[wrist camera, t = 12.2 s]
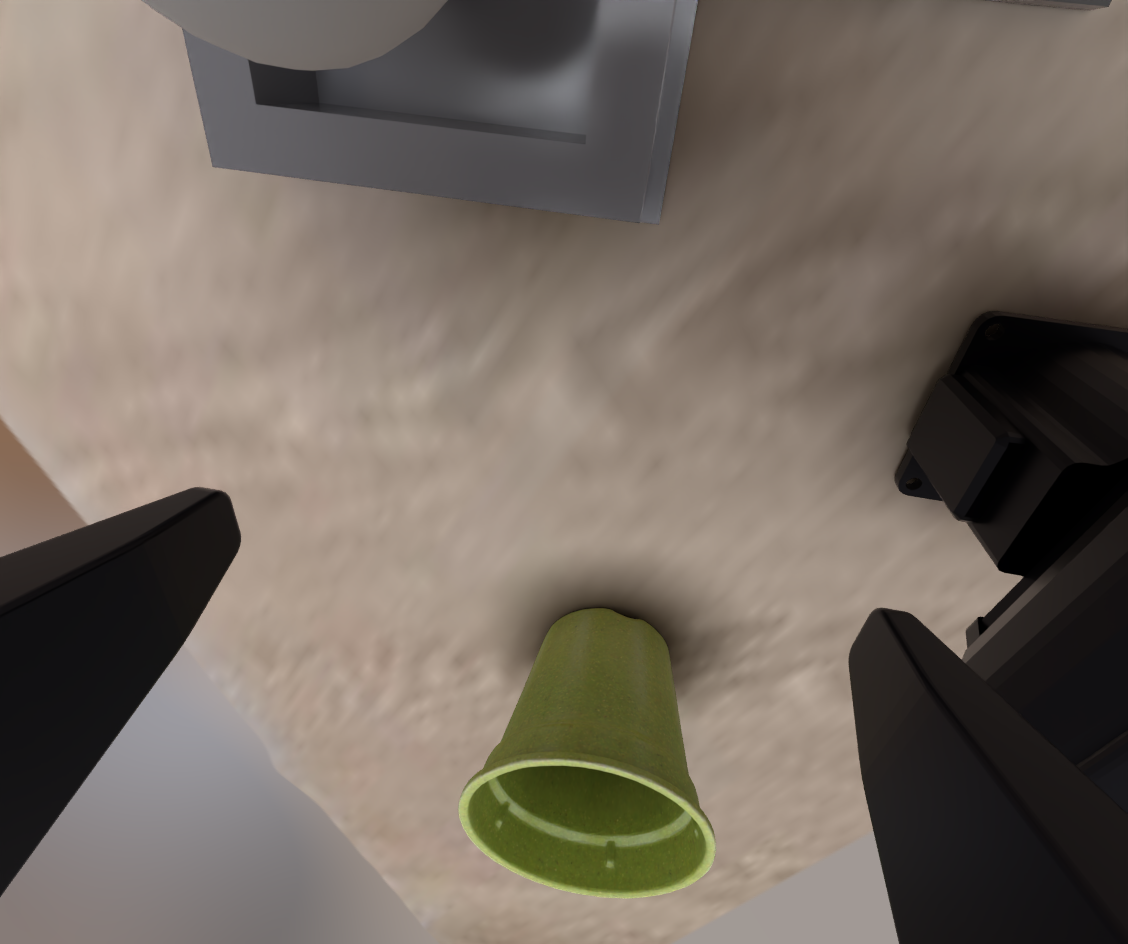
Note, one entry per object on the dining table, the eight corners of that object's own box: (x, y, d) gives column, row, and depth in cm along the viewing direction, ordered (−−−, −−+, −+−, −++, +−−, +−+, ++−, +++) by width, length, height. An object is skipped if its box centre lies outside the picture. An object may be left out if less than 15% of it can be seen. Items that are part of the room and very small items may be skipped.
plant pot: (474, 611, 28) (407, 788, 21) (648, 551, 24) (638, 742, 17) (572, 723, 32) (543, 905, 25) (736, 686, 28) (758, 889, 21)
